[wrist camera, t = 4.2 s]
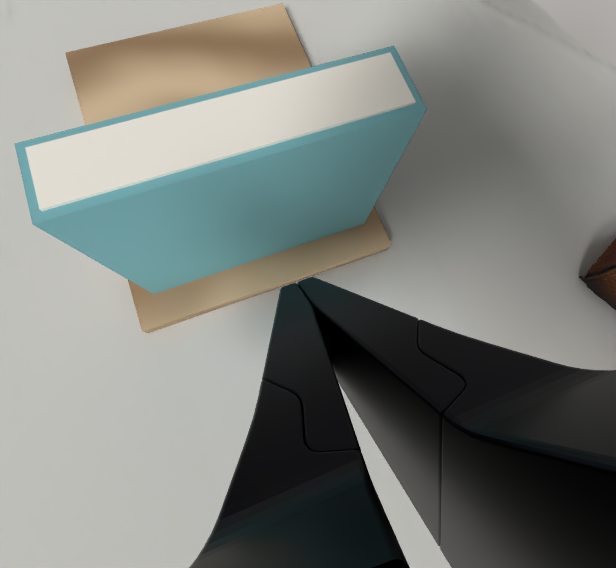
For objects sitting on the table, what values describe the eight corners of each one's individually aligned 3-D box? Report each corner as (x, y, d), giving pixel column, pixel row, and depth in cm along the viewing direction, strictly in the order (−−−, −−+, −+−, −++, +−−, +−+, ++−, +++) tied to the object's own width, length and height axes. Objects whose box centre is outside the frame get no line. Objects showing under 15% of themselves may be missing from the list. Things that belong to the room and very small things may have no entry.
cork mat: (387, 249, 20) (391, 244, 20) (148, 333, 18) (142, 331, 18) (282, 15, 24) (282, 3, 23) (73, 63, 22) (65, 52, 21)
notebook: (364, 223, 20) (428, 106, 11) (151, 294, 18) (26, 224, 9) (346, 184, 20) (394, 43, 12) (138, 249, 19) (7, 142, 10)
